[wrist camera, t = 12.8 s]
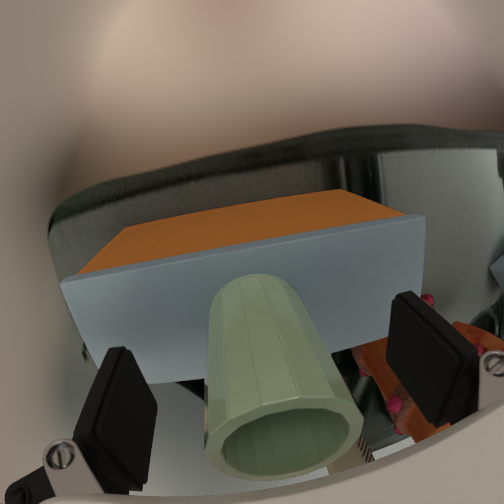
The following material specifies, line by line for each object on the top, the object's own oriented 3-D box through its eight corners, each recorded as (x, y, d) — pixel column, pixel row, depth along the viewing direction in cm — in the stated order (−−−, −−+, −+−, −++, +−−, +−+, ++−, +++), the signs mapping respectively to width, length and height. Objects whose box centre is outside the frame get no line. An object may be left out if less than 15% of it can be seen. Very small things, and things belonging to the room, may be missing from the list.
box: (348, 428, 31) (383, 508, 19) (315, 438, 31) (343, 522, 19) (350, 404, 29) (392, 493, 17) (314, 415, 29) (347, 510, 17)
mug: (325, 357, 26) (390, 491, 12) (341, 278, 24) (452, 412, 9) (439, 339, 28) (516, 423, 14) (460, 274, 25) (562, 348, 11)
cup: (298, 264, 12) (372, 376, 6) (305, 344, 13) (355, 460, 7) (197, 283, 11) (184, 415, 5) (218, 360, 13) (225, 488, 7)
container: (342, 185, 21) (426, 216, 12) (347, 260, 23) (416, 327, 14) (122, 224, 20) (58, 283, 11) (143, 297, 22) (107, 386, 13)
